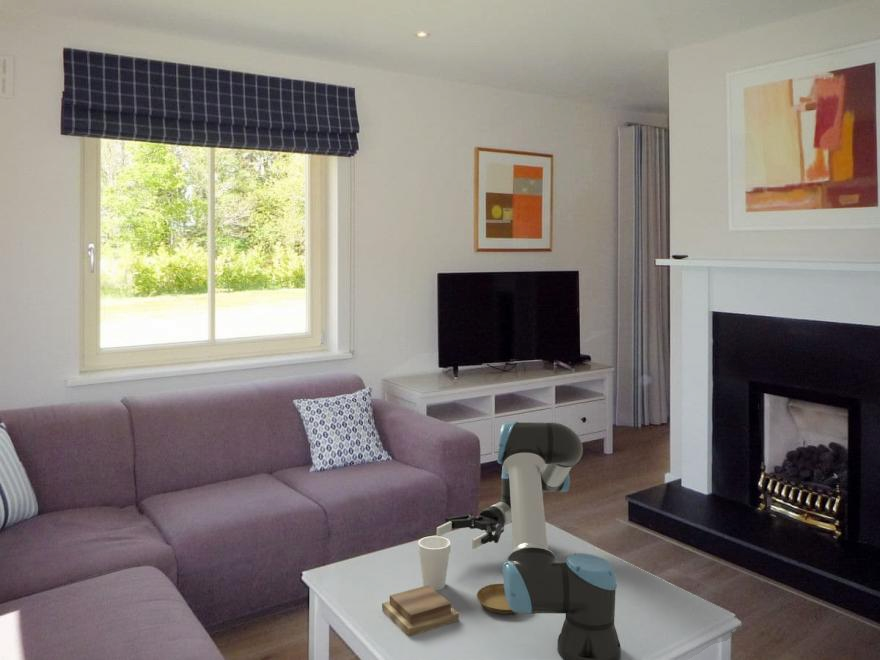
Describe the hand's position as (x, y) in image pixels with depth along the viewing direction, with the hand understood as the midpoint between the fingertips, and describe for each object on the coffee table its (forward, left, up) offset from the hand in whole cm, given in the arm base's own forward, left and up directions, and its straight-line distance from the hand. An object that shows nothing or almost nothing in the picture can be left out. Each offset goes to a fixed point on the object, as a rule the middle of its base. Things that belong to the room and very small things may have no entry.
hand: (455, 538), depth 218 cm
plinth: (-17, +21, -11) cm, 29 cm away
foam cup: (-4, +9, -11) cm, 15 cm away
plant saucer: (-23, -2, -12) cm, 25 cm away
